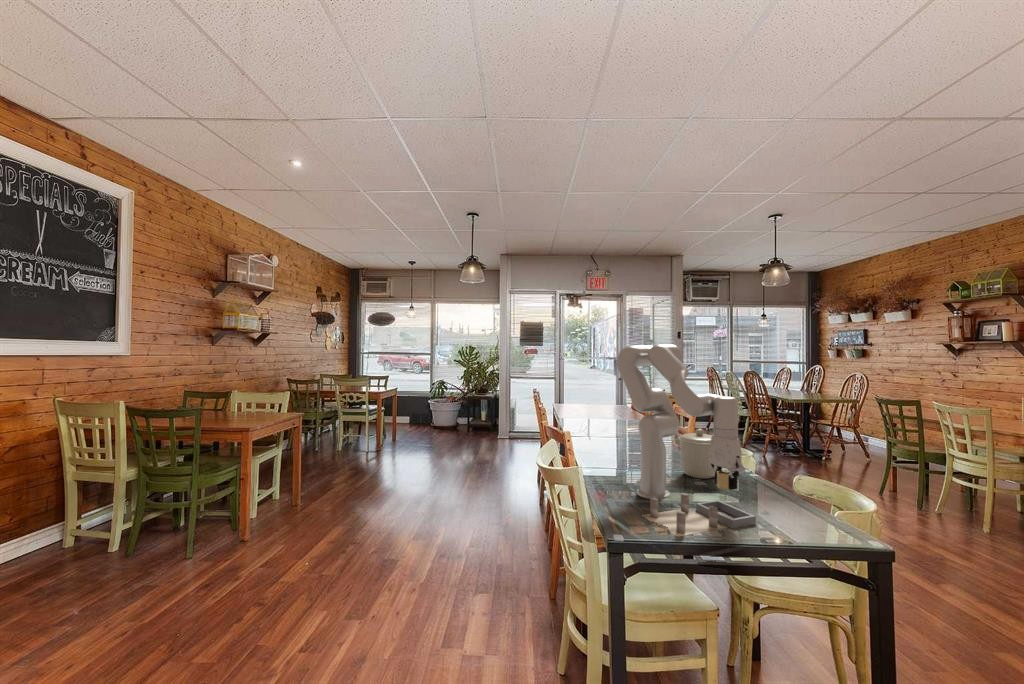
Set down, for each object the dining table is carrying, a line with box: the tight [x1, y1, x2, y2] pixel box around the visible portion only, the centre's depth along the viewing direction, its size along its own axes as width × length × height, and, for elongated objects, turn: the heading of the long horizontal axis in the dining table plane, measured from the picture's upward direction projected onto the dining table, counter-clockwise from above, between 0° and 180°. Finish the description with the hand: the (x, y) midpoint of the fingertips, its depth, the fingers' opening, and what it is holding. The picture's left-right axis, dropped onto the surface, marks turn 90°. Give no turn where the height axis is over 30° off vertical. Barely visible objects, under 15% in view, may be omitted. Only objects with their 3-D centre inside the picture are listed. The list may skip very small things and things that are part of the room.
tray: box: [695, 499, 757, 529], centre depth 157 cm, size 16×10×4 cm, turn 21°
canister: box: [678, 428, 715, 480], centre depth 208 cm, size 18×18×21 cm
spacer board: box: [640, 492, 729, 538], centre depth 153 cm, size 18×20×7 cm
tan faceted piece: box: [716, 469, 731, 491], centre depth 157 cm, size 5×6×5 cm
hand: (725, 485), depth 157 cm, fingers closed on tan faceted piece, 5 cm apart
